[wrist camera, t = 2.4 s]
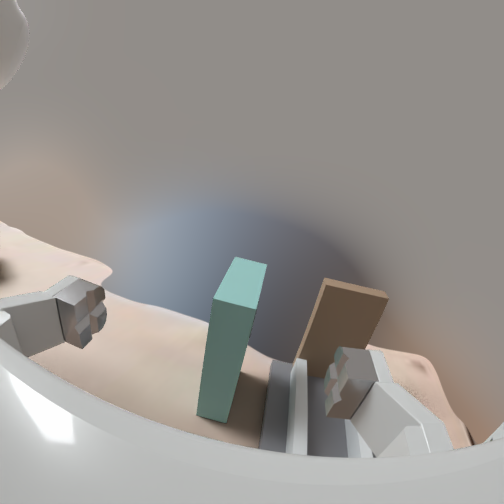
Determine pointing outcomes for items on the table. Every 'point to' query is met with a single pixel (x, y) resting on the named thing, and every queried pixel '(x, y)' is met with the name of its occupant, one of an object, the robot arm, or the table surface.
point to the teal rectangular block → (229, 337)
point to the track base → (317, 420)
